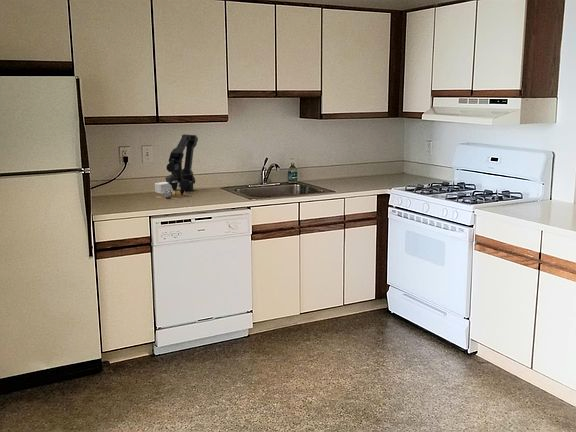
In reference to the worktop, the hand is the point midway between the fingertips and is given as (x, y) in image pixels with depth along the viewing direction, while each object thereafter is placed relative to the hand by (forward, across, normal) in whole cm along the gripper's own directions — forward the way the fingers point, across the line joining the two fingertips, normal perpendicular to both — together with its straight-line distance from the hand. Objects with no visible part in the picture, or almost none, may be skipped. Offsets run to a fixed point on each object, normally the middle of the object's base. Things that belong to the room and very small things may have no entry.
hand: (178, 193), depth 378 cm
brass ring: (0, 0, 0) cm, 0 cm away
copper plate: (+2, +3, -5) cm, 6 cm away
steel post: (+2, +6, -12) cm, 14 cm away
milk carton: (-2, -16, -5) cm, 17 cm away
